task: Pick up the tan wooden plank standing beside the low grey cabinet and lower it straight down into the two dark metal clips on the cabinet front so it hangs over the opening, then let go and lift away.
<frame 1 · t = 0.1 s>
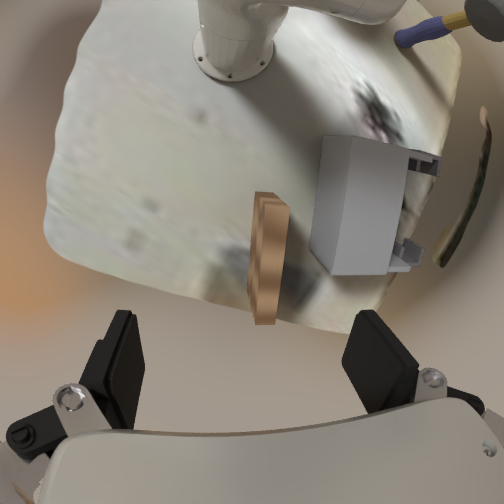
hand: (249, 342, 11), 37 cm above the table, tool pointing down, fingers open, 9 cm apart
rubber mallet: (398, 41, 38), on the table
tan wooden plank: (259, 243, 49), on the table
cabinet: (356, 197, 48), on the table
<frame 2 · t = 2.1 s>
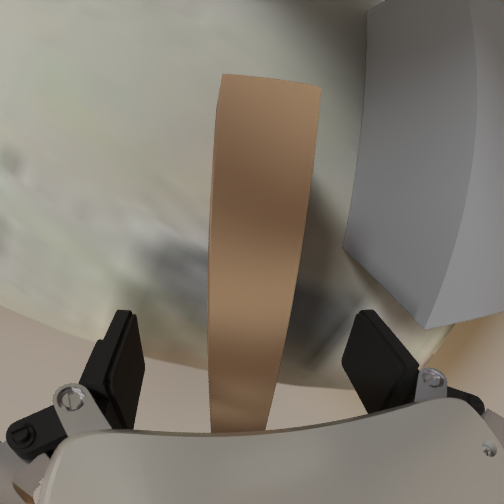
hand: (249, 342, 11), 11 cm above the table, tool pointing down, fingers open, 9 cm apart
tan wooden plank: (229, 236, 21), on the table
cabinet: (435, 144, 20), on the table
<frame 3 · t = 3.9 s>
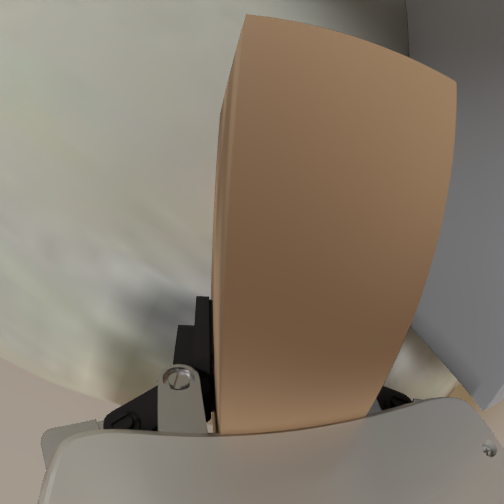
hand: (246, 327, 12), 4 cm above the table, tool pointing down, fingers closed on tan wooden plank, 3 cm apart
tan wooden plank: (238, 286, 16), on the table, touching gripper
cabinet: (481, 162, 15), on the table
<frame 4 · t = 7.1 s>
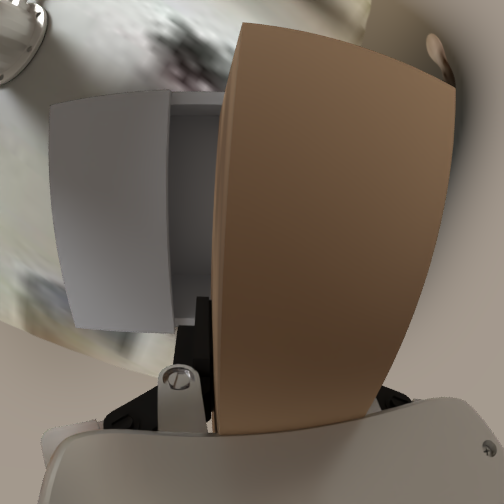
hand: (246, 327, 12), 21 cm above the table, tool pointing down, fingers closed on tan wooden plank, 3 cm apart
tan wooden plank: (237, 288, 16), point 18 cm above the table, touching gripper
cabinet: (163, 197, 30), on the table
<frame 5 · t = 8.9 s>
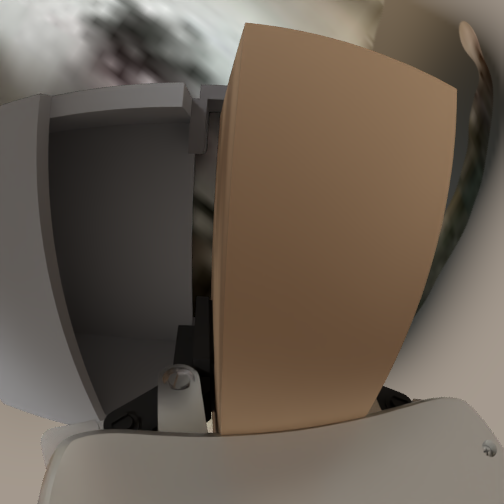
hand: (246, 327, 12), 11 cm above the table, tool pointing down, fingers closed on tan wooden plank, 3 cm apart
tan wooden plank: (238, 288, 16), point 7 cm above the table, touching gripper
cabinet: (97, 239, 21), on the table
when the fingers open (5 cm above the table, at t = 10.5 s): tan wooden plank stays where it is, on the table.
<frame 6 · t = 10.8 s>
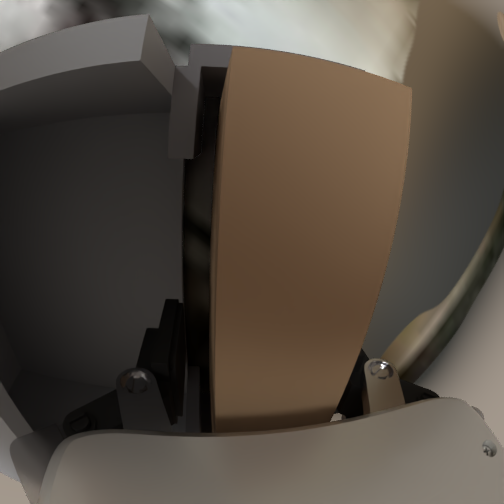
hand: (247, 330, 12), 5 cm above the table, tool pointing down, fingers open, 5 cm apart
tan wooden plank: (235, 278, 17), on the table
cabinet: (63, 272, 15), on the table
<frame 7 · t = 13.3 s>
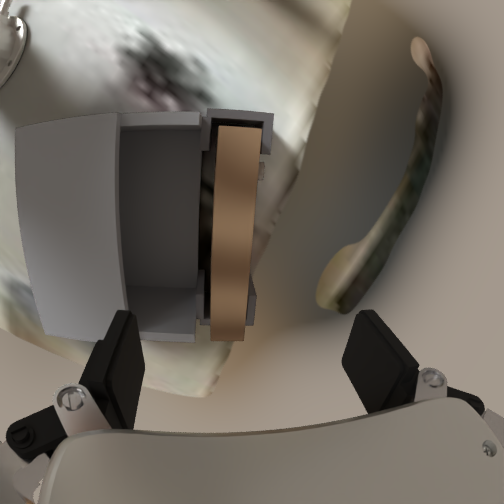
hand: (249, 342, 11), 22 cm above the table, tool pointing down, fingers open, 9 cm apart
tan wooden plank: (225, 213, 32), on the table
cabinet: (130, 210, 30), on the table
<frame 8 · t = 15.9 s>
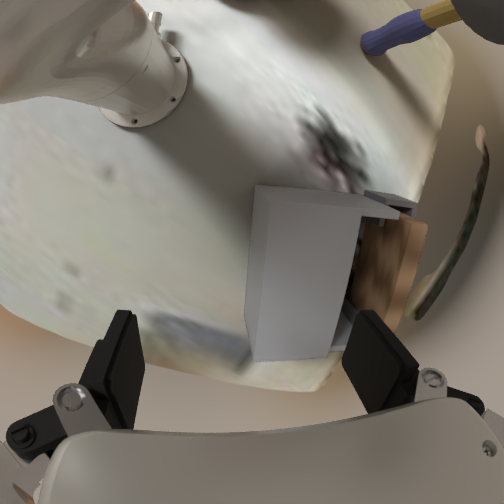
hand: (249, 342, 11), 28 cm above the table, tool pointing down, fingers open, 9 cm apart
rubber mallet: (367, 46, 31), on the table
tan wooden plank: (365, 258, 44), on the table
cabinet: (302, 256, 42), on the table
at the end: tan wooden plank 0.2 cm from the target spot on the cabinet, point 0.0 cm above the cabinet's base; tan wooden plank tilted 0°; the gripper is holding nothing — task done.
